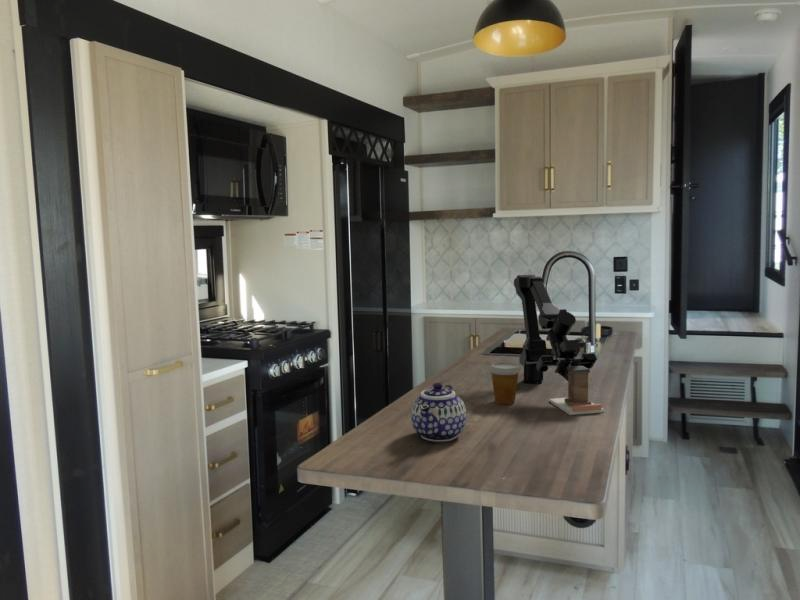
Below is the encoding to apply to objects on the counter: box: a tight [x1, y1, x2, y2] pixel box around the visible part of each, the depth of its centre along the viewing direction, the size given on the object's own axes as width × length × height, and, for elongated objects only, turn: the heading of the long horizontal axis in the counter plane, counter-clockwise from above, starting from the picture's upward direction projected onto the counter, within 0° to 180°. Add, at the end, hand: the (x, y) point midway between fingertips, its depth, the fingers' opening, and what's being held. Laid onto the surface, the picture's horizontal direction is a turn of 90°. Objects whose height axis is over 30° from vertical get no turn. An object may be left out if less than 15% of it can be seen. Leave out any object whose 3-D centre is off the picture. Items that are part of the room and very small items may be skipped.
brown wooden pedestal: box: [564, 366, 592, 406], centre depth 206 cm, size 6×6×11 cm
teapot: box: [410, 382, 467, 442], centre depth 181 cm, size 25×15×15 cm, turn 155°
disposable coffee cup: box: [489, 362, 521, 405], centre depth 215 cm, size 10×10×12 cm
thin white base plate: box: [549, 397, 605, 416], centre depth 208 cm, size 15×11×2 cm
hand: (574, 384), depth 209 cm, fingers closed
